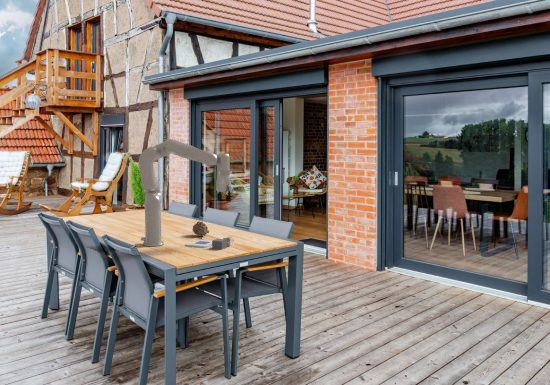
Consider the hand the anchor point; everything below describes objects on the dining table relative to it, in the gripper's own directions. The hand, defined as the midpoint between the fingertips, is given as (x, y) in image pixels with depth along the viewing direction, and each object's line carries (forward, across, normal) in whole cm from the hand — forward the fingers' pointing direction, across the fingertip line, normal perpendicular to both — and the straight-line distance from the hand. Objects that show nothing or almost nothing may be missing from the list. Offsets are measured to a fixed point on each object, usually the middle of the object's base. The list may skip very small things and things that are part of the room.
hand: (223, 200), depth 302 cm
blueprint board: (+27, -5, -13) cm, 30 cm away
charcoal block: (+27, +11, -11) cm, 31 cm away
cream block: (+27, +7, -2) cm, 28 cm away
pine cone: (+27, -27, +1) cm, 38 cm away
